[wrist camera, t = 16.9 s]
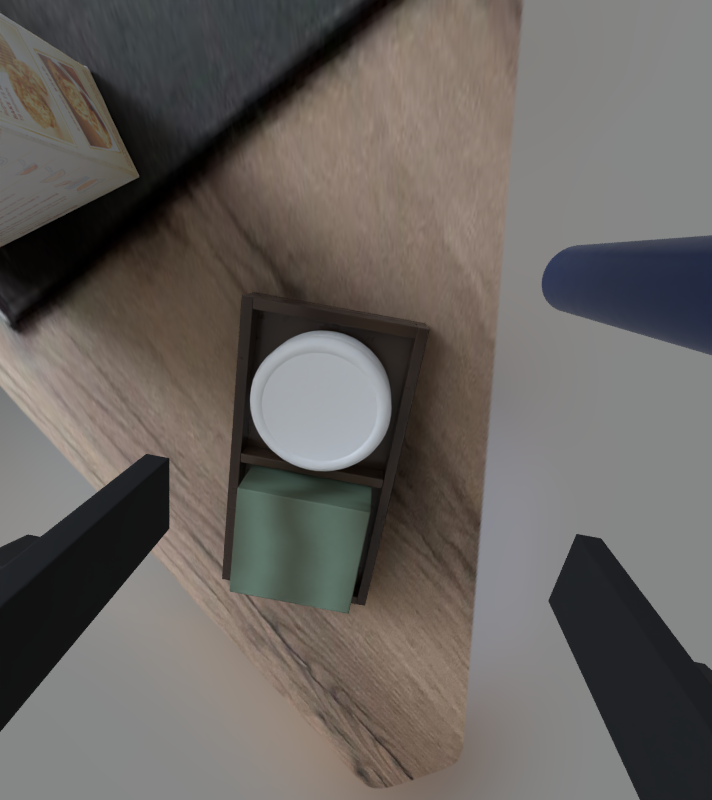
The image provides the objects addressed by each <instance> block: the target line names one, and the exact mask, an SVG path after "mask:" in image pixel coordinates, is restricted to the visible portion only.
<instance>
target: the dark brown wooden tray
mask: <svg viewBox="0 0 712 800" xmlns="http://www.w3.org/2000/svg"><path fill="white" fill-rule="evenodd" d="M318 330H324V331H334V332H339V333H343V334H346V335H348V336H351V337H353V338H355V339H356V340H358V341H360V342H361V343H363V344H364V345H365V346H366V347H368V348H369V349H370V350H371V351H372V352H373V353H374V354H375V355H376V356H377V358H378V359H379V361H380V362H381V364H382V365H383V367H384V369H385V371H386V374H387V376H388V379H389V383H390V388H391V406H392V409H391V418H390V423H389V427H388V429H387V432H386V434H385V436H384V438H383V439H382V441H381V442H380V444H379V445H378V446H377V448H376V449H375V450H374V451H373V452H372V453H371V454H370V455H369V456H367V457H366V458H365V459H363V460H362V461H360V462H358V463H356V464H354V465H352V466H350V467H347V468H343V469H340V470H334V471H314V470H308V469H304V468H301V467H298V466H295V465H293V464H291V463H289V462H287V461H286V460H284V459H282V458H281V457H280V456H278V455H277V454H276V453H275V452H273V451H272V450H271V449H270V448H269V447H268V445H267V444H266V443H265V442H264V441H263V439H262V437H261V436H260V434H259V433H258V431H257V429H256V426H255V424H254V421H253V418H252V414H251V408H250V394H251V386H252V382H253V379H254V376H255V374H256V372H257V370H258V368H259V367H260V365H261V364H262V362H263V361H264V360H265V358H266V357H267V356H268V355H270V354H271V353H272V352H273V351H274V350H275V349H276V348H278V347H279V346H280V345H281V344H283V343H284V342H286V341H287V340H289V339H291V338H293V337H294V336H297V335H300V334H302V333H306V332H310V331H318ZM428 333H429V329H428V327H427V325H426V324H425V323H420V322H415V321H409V320H404V319H398V318H393V317H387V316H382V315H376V314H371V313H365V312H360V311H354V310H349V309H343V308H338V307H332V306H327V305H321V304H316V303H310V302H305V301H299V300H294V299H288V298H283V297H277V296H272V295H266V294H261V293H255V292H254V293H250V294H246V295H242V301H241V315H240V330H239V344H238V358H237V373H236V387H235V401H234V416H233V430H232V444H231V459H230V473H229V488H228V502H227V516H226V531H225V545H224V559H223V574H222V579H226V580H230V591H231V592H236V593H242V594H247V595H252V596H257V597H263V598H268V599H273V600H279V601H284V602H289V603H294V604H300V605H305V606H310V607H316V608H321V609H326V610H331V611H337V612H342V613H347V614H348V613H349V610H350V605H351V603H353V604H359V605H365V603H366V599H367V595H368V591H369V586H370V582H371V578H372V573H373V569H374V565H375V560H376V556H377V552H378V548H379V543H380V539H381V535H382V530H383V526H384V522H385V518H386V513H387V509H388V505H389V500H390V496H391V492H392V487H393V483H394V479H395V475H396V470H397V466H398V462H399V457H400V453H401V449H402V445H403V440H404V436H405V432H406V427H407V423H408V419H409V414H410V410H411V406H412V402H413V397H414V393H415V389H416V384H417V380H418V376H419V372H420V367H421V363H422V359H423V354H424V350H425V346H426V341H427V337H428Z"/></svg>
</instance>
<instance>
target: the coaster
mask: <svg viewBox="0 0 712 800" xmlns="http://www.w3.org/2000/svg"><path fill="white" fill-rule="evenodd" d="M250 408H251V414H252V418H253V421H254V424H255V426H256V429H257V431H258V433H259V434H260V436H261V437H262V439H263V441H264V442H265V443H266V444H267V445H268V447H269V448H270V449H271V450H272V451H273V452H275V453H276V454H277V455H278V456H280V457H281V458H282V459H284V460H286V461H287V462H289V463H291V464H293V465H295V466H298V467H301V468H304V469H308V470H314V471H334V470H340V469H343V468H347V467H350V466H352V465H354V464H356V463H358V462H360V461H362V460H363V459H365V458H366V457H367V456H369V455H370V454H371V453H372V452H373V451H374V450H375V449H376V448H377V446H378V445H379V444H380V442H381V441H382V439H383V438H384V436H385V434H386V432H387V429H388V427H389V423H390V418H391V409H392V406H391V388H390V383H389V379H388V376H387V374H386V371H385V369H384V367H383V365H382V364H381V362H380V361H379V359H378V358H377V356H376V355H375V354H374V353H373V352H372V351H371V350H370V349H369V348H368V347H366V346H365V345H364V344H363V343H361V342H360V341H358V340H356V339H355V338H353V337H351V336H348V335H346V334H343V333H339V332H334V331H324V330H318V331H310V332H306V333H302V334H300V335H297V336H294V337H293V338H291V339H289V340H287V341H286V342H284V343H283V344H281V345H280V346H279V347H278V348H276V349H275V350H274V351H273V352H272V353H271V354H270V355H268V356H267V357H266V358H265V360H264V361H263V362H262V364H261V365H260V367H259V368H258V370H257V372H256V374H255V376H254V379H253V382H252V386H251V394H250Z"/></svg>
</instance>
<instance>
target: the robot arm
mask: <svg viewBox="0 0 712 800" xmlns="http://www.w3.org/2000/svg"><path fill="white" fill-rule="evenodd" d="M168 529H169V458H165V457H160V456H154V455H149V454H146V455H144V456H143V457H142V458H140V459H139V460H138V461H137V462H135V463H134V464H133V465H132V466H130V467H129V468H128V469H126V470H125V471H124V472H123V473H121V474H120V475H119V476H118V477H116V478H115V479H114V480H112V481H111V482H110V483H109V484H107V485H106V486H105V487H104V488H102V489H101V490H100V491H98V492H97V493H96V494H95V495H93V496H92V497H91V498H90V499H88V500H87V501H86V502H84V503H83V504H82V505H81V506H79V507H78V508H77V509H76V510H74V511H73V512H72V513H71V514H69V515H68V516H67V517H65V518H64V519H63V520H62V521H60V522H59V523H58V524H56V525H55V526H54V527H53V528H52V529H50V530H49V531H48V532H46V533H45V534H44V535H42V536H41V537H38V536H33V535H26V536H24V537H22V538H19V539H17V540H15V541H13V542H11V543H8V544H7V545H4V546H2V547H0V731H1V730H2V729H3V728H4V726H5V725H6V724H7V723H8V722H9V721H10V719H11V718H12V717H13V716H14V715H15V713H16V712H17V711H18V710H19V708H20V707H21V706H22V705H23V704H24V702H25V701H26V700H27V699H28V698H29V697H30V695H31V694H32V693H33V692H34V691H35V689H36V688H37V687H38V686H39V685H40V683H41V682H42V681H43V679H44V678H45V677H46V676H47V675H48V674H49V672H50V671H51V670H52V669H53V668H54V666H55V665H56V664H57V663H58V662H59V660H60V659H61V658H62V657H63V656H64V654H65V653H66V652H67V651H68V650H69V648H70V647H71V646H72V645H73V644H74V642H75V641H76V640H77V639H78V638H79V636H80V635H81V634H82V633H83V632H84V630H85V629H86V628H87V627H88V626H89V624H90V623H91V622H92V621H93V620H94V618H95V617H96V616H97V615H98V614H99V612H100V611H101V610H102V609H103V608H104V606H105V605H106V604H107V603H108V602H109V600H110V599H111V598H112V597H113V595H114V594H115V593H116V592H117V591H118V590H119V588H120V587H121V586H122V585H123V583H124V582H125V581H126V580H127V579H128V578H129V576H130V575H131V574H132V573H133V571H134V570H135V569H136V568H137V567H138V566H139V564H140V563H141V562H142V561H143V560H144V558H145V557H146V556H147V555H148V553H149V552H150V551H151V550H152V549H153V547H154V546H155V545H156V544H157V543H158V541H159V540H160V539H161V538H162V537H163V535H164V534H165V533H166V532H167V531H168ZM549 603H550V605H551V607H552V609H553V612H554V614H555V616H556V618H557V620H558V623H559V625H560V627H561V629H562V631H563V634H564V636H565V638H566V640H567V642H568V644H569V647H570V649H571V651H572V653H573V655H574V657H575V659H576V662H577V664H578V666H579V668H580V670H581V673H582V675H583V677H584V679H585V681H586V683H587V686H588V688H589V690H590V692H591V694H592V696H593V699H594V701H595V703H596V705H597V707H598V710H599V712H600V714H601V716H602V718H603V720H604V723H605V725H606V727H607V729H608V731H609V733H610V736H611V737H612V740H613V742H614V744H615V747H616V748H617V751H618V753H619V755H620V757H621V759H622V762H623V764H624V766H625V768H626V770H627V773H628V775H629V777H630V779H631V781H632V783H633V786H634V788H635V790H636V792H637V794H638V797H639V799H640V800H712V670H711V669H710V668H708V667H707V666H706V665H705V664H702V663H697V662H694V661H693V660H692V659H691V657H690V656H689V655H688V653H687V652H686V651H685V649H684V648H683V647H682V645H681V644H680V643H679V641H678V640H677V639H676V637H675V636H674V635H673V634H672V632H671V631H670V629H669V628H668V627H667V625H666V624H665V623H664V621H663V620H662V619H661V617H660V616H659V615H658V613H657V612H656V611H655V610H654V608H653V607H652V606H651V604H650V603H649V601H648V600H647V599H646V598H645V596H644V595H643V594H642V592H641V591H640V590H639V588H638V587H637V586H636V584H635V583H634V582H633V580H632V579H631V578H630V576H629V575H628V574H627V572H626V571H625V570H624V568H623V567H622V566H621V564H620V563H619V562H618V560H617V559H616V558H615V556H614V555H613V554H612V552H611V551H610V550H609V548H608V547H607V546H606V544H605V543H604V542H603V540H602V539H601V538H595V537H590V536H585V535H579V534H576V537H575V539H574V541H573V544H572V546H571V549H570V551H569V553H568V556H567V558H566V561H565V563H564V565H563V567H562V570H561V572H560V575H559V577H558V579H557V582H556V584H555V587H554V589H553V592H552V594H551V596H550V598H549Z"/></svg>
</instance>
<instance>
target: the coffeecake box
mask: <svg viewBox="0 0 712 800" xmlns="http://www.w3.org/2000/svg"><path fill="white" fill-rule="evenodd" d="M137 178H139V174H138V172H137V170H136V168H135V166H134V164H133V162H132V160H131V158H130V156H129V154H128V152H127V149H126V147H125V145H124V143H123V141H122V139H121V137H120V135H119V133H118V130H117V128H116V126H115V124H114V122H113V120H112V118H111V116H110V114H109V111H108V109H107V106H106V104H105V102H104V100H103V98H102V95H101V93H100V91H99V90H98V88H97V85H96V83H95V81H94V79H93V77H92V75H91V73H90V71H89V69H88V68H87V67H86V66H83V65H81V64H80V63H78V62H76V61H75V60H73V59H72V58H70V57H68V56H67V55H65V54H64V53H62V52H61V51H59V50H58V49H56V48H54V47H53V46H51V45H50V44H48V43H47V42H45V41H44V40H42V39H40V38H39V37H37V36H36V35H34V34H33V33H31V32H29V31H28V30H26V29H25V28H23V27H21V26H20V25H18V24H17V23H15V22H14V21H12V20H10V19H9V18H7V17H6V16H4V15H3V14H1V13H0V247H2V246H4V245H6V244H8V243H10V242H12V241H14V240H16V239H18V238H20V237H22V236H24V235H26V234H28V233H30V232H32V231H34V230H35V229H37V228H39V227H41V226H43V225H45V224H47V223H49V222H51V221H53V220H56V219H58V218H60V217H62V216H64V215H65V214H67V213H69V212H71V211H73V210H75V209H77V208H79V207H81V206H83V205H85V204H87V203H89V202H91V201H93V200H95V199H97V198H99V197H101V196H103V195H105V194H107V193H109V192H111V191H113V190H115V189H117V188H119V187H121V186H123V185H125V184H127V183H129V182H131V181H133V180H135V179H137Z"/></svg>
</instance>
